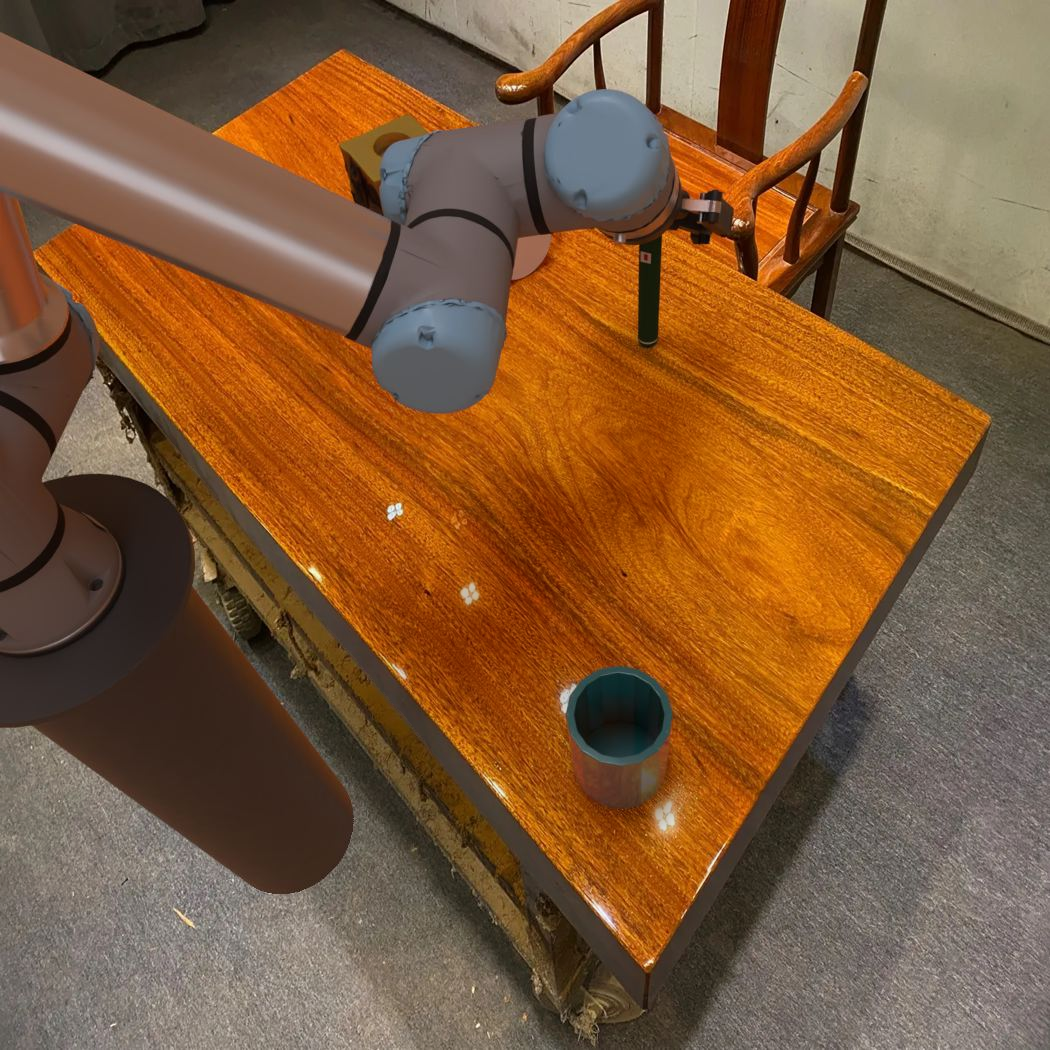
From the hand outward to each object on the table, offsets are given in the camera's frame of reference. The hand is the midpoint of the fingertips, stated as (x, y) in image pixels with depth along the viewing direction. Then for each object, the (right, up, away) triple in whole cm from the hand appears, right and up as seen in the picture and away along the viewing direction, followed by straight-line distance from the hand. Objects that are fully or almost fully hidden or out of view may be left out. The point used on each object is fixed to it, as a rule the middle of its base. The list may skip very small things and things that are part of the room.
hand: (655, 227), depth 93 cm
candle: (-28, +9, +25) cm, 38 cm away
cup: (-5, -49, -18) cm, 53 cm away
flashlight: (0, -10, +9) cm, 13 cm away
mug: (-15, +3, +19) cm, 24 cm away
